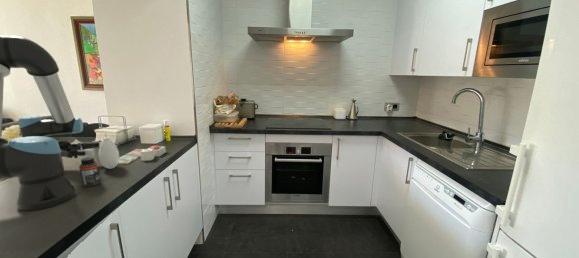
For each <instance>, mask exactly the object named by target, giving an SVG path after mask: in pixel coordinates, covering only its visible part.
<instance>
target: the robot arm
mask: <svg viewBox="0 0 579 258" xmlns="http://www.w3.org/2000/svg"><path fill="white" fill-rule="evenodd" d="M11 69H25V70H26V73H27V74H28V75H30V76H32V78H33V80H34V82H35V84H36V85H37V88H38V91H39V93H40V94H41V97H42V99H43V100H44V103H45V105H46V108H47V109H48V111H49V113H50V116H51V118H52V119H43V118H41V116H37V115H32V116H30V115H29V116H23V117H20V118H18V127H19V129H18V130H19V131H20V135H21V137H20V136H19V137H14V138H11V139H10V140H8V139H7V138H5V137H3V134H2V133H3V110H4V109H3V107H4V86H5V85H4V82H5V81H4V79H5V77H8V76H10V74H11ZM59 71H60V69H59V66H58V63H57V61H56V60H55V59H54V57H53V56H52V54H50V52H48V51H47V50H46V49H45V48H44V47H43V46H41V45H39V44H38V43H37V42H35V41H33V40H31V39H28V38H26V37H23V36H19V35H1V34H0V180H4V179H11V178H17V179H18V182H19V190H18V198H17V199H16V207H17V209H18V210H20V211H25V212H26V211H30V212H31V211H36V210H38V211H39V210H43V209H47V208H51V207H53V206H57V205H60V204H63V203H65V202H67V201H69V200H71V199H72V198H73V197H75V195H76V189H75V186H74V185H72V183H71V181H70V179H69V178H68V177H67V175H66V171H65V166H64V161H63V158H68V159H72V158H74V159H77V158H79V157H94V156H95V151H94V149H95V148H100V145H101V143H102V141H103V140H100V139H99V140H97V141H95V140H94V141H86V142H78V143H71V142H69V141H67V140H66V141H65V140H63V141H62V140H61V141H60V140H59V141H58V140H57V139H56V138H54V137H51V136H56V135H58V136H60V135H70V134H72V135H73V134H79V133H82V132H83V131H84V123H83V120H82V119H81V118H80V117H75V115H74V113H73V110H72V108H71V105H70V103H69V100H68V98H67V95H66V93H65V90H64V87H63V85H62V82H61V79H60V77H59V75H58V73H59Z"/></svg>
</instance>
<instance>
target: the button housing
mask: <svg viewBox="0 0 579 258" xmlns="http://www.w3.org/2000/svg"><path fill="white" fill-rule="evenodd" d="M158 146H159V147H160V149H158V150H154V155H155V157H161V156H162V155H164V154H165V153H166V152H167V150H166V146H165V145H164V146H162V145H161V146H160V145H158ZM147 149H150V147H148V148H147ZM155 157H154V158H155Z"/></svg>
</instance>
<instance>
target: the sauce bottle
mask: <svg viewBox="0 0 579 258" xmlns="http://www.w3.org/2000/svg"><path fill="white" fill-rule="evenodd" d="M104 135H105V137H103V138H102V140H101V141H102V143H101V145H100V147H98V148H99V149H98V159H99V162H100V164H101V166H103V167H104V168H106V169H109V170H111V169H115V167H116V166H117V164H118V162H119V158H120V153H119V149H118V147H117V145H116V144H115V142H114V141H113V140H112V139H111V137H109V136H107V133H106V132H105V134H104Z"/></svg>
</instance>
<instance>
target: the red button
mask: <svg viewBox="0 0 579 258" xmlns="http://www.w3.org/2000/svg"><path fill="white" fill-rule="evenodd" d="M159 146H160V145H152V146H150V147H149V148H150V149H154V150H158V149H160V147H159Z"/></svg>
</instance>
